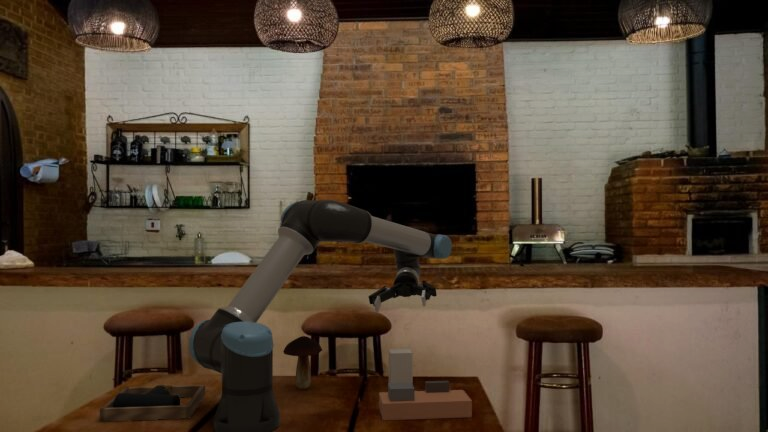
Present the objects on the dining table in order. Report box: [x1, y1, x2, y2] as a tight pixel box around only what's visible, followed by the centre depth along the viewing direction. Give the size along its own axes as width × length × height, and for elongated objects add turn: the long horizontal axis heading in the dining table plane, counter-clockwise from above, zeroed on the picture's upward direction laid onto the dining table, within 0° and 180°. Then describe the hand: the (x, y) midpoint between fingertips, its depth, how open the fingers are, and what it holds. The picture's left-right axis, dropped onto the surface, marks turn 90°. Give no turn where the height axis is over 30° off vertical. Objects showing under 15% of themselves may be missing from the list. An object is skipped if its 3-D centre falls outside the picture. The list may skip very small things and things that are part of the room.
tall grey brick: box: [388, 348, 414, 386], centre depth 160 cm, size 6×5×12 cm
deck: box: [378, 380, 473, 421], centre depth 148 cm, size 22×16×7 cm
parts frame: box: [99, 384, 206, 423], centre depth 148 cm, size 21×18×3 cm
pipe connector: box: [113, 384, 181, 408], centre depth 147 cm, size 12×5×15 cm
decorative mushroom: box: [282, 335, 323, 390], centre depth 165 cm, size 11×11×15 cm
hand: (399, 304), depth 163 cm, fingers open, 13 cm apart
